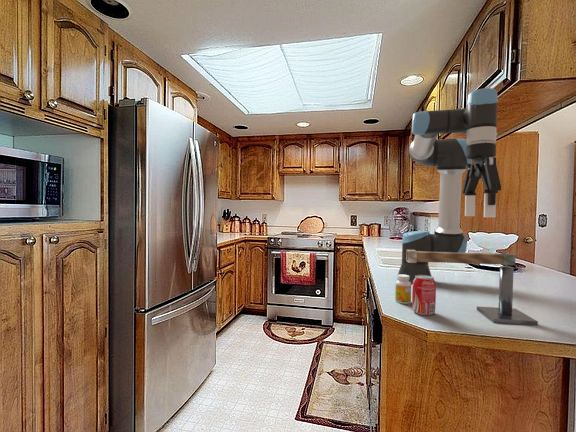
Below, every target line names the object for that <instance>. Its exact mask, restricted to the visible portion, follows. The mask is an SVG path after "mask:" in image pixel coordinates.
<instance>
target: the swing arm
mask: <svg viewBox="0 0 576 432" xmlns="http://www.w3.org/2000/svg"><path fill="white" fill-rule="evenodd" d="M516 260H517V259H516V254H514V253H493V252H492V253H491V252H490V253H487V252H465V253H460V252H427V251H415V250H407V251H406V261H407V262H408V263H416V262H428V263H446V264H472V265H474V264H478V265H498V266H499V265H500V266H515V265H516Z"/></svg>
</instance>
